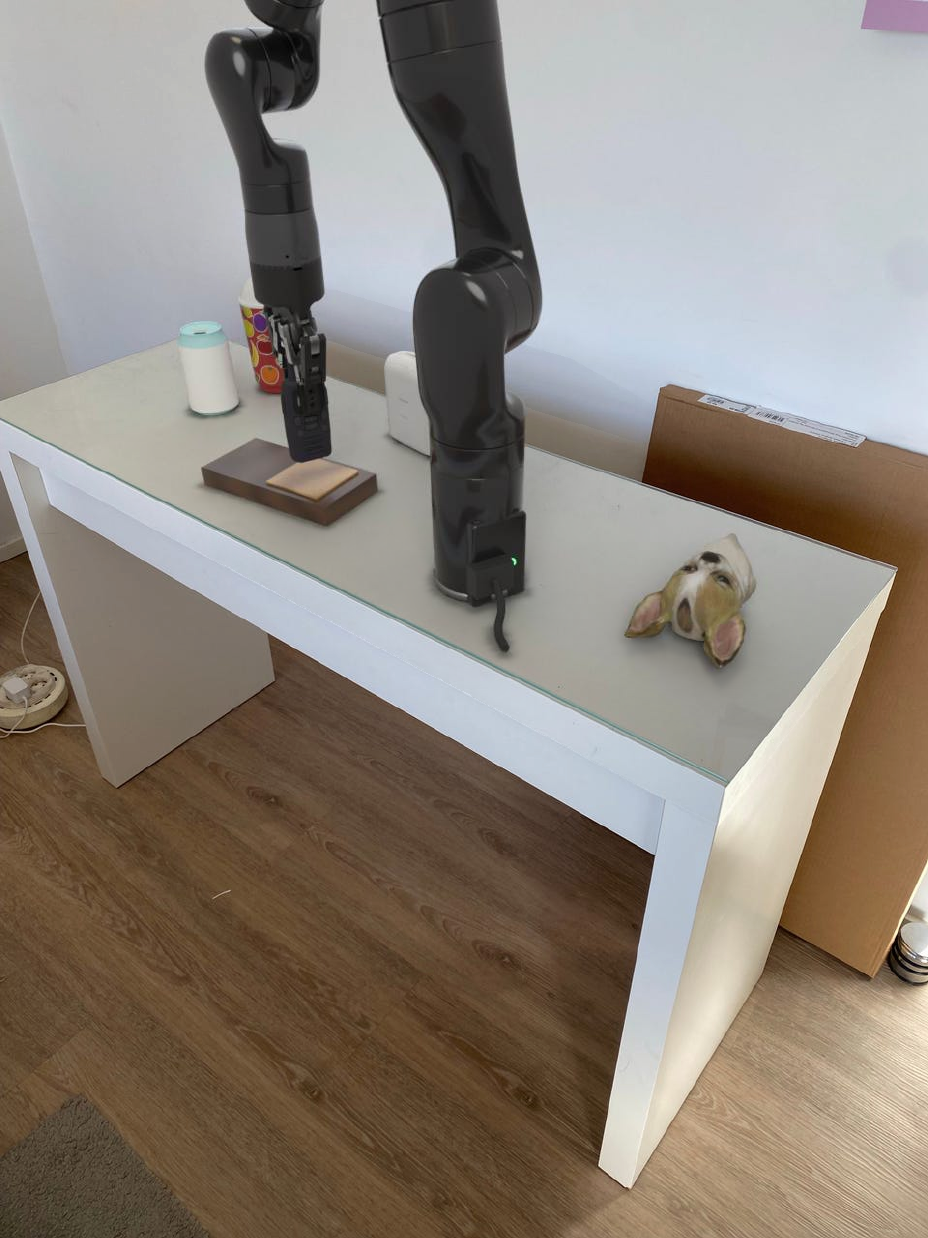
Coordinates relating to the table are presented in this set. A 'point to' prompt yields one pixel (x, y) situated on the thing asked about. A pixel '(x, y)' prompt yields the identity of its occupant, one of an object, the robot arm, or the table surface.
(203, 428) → the table surface
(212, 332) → the can
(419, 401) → the photo printer
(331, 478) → the walnut board
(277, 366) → the smoothie
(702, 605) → the ceramic sculpture
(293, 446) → the two-way radio
